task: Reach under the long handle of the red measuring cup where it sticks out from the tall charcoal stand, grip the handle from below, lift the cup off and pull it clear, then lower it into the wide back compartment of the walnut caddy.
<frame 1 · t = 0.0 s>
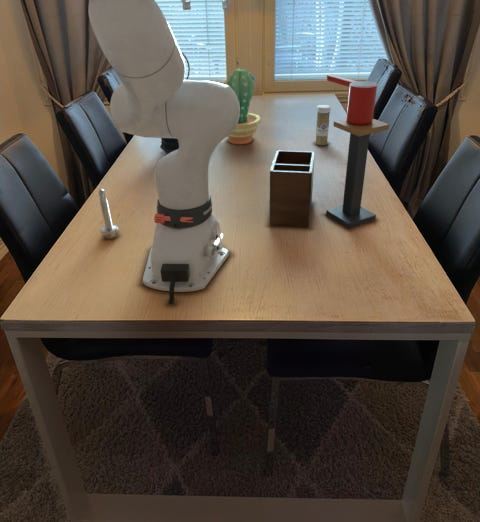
hand: (206, 9, 110), 48 cm above the table, tool pointing down, fingers open, 8 cm apart
potted cactus: (240, 140, 176), on the table
caddy: (291, 214, 126), on the table
cup: (359, 121, 110), point 25 cm above the table, touching stand
lantern: (178, 151, 168), on the table
stand: (350, 217, 124), on the table
sprinkles bottle: (321, 144, 171), on the table
screw: (110, 236, 119), on the table
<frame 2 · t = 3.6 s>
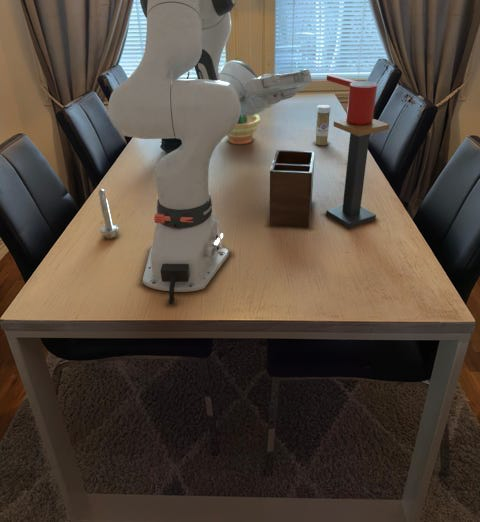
hand: (291, 74, 127), 31 cm above the table, tool pointing upward, fingers open, 8 cm apart
nothing on the table moved.
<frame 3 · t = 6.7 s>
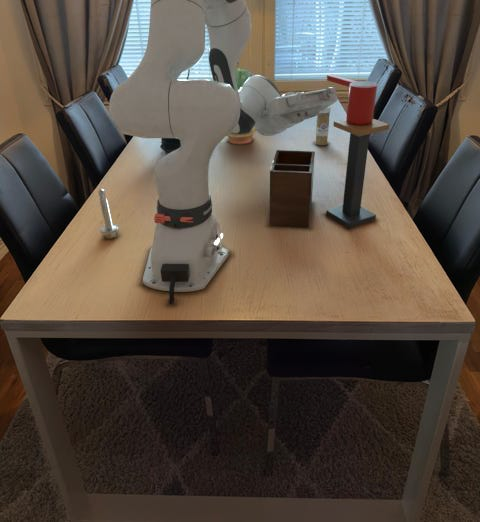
hand: (318, 92, 120), 29 cm above the table, tool pointing upward, fingers open, 8 cm apart
nothing on the table moved.
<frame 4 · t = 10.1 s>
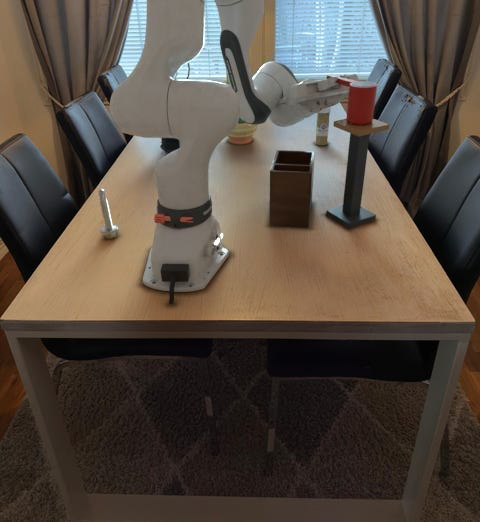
hand: (340, 78, 111), 33 cm above the table, tool pointing upward, fingers closed on cup
cup: (359, 121, 110), point 25 cm above the table, touching gripper, stand
everything else where it was.
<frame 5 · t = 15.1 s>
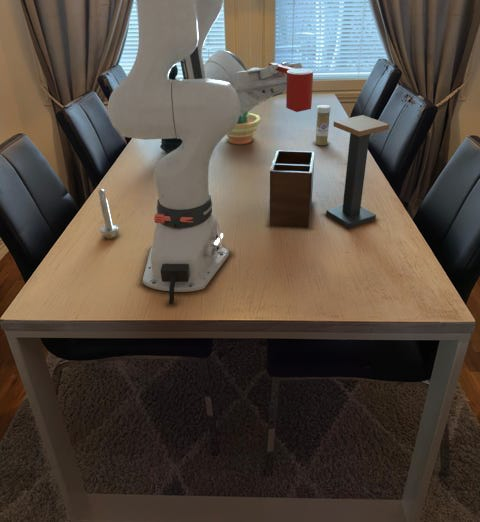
hand: (281, 66, 114), 36 cm above the table, tool pointing upward, fingers closed on cup
cup: (298, 108, 113), point 27 cm above the table, touching gripper
everything else where it was.
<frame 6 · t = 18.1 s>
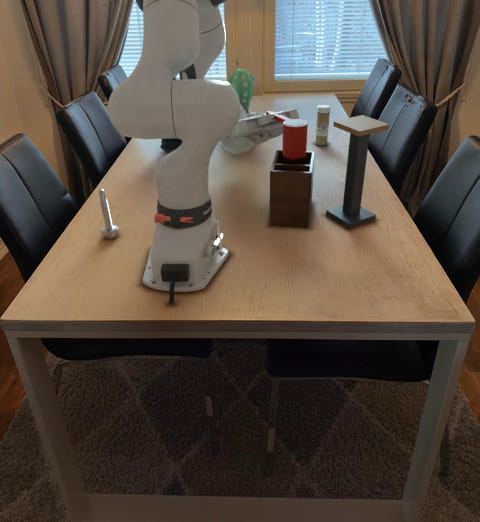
hand: (277, 115, 120), 24 cm above the table, tool pointing upward, fingers closed on cup
cup: (294, 155, 119), point 15 cm above the table, touching gripper
everything else where it was.
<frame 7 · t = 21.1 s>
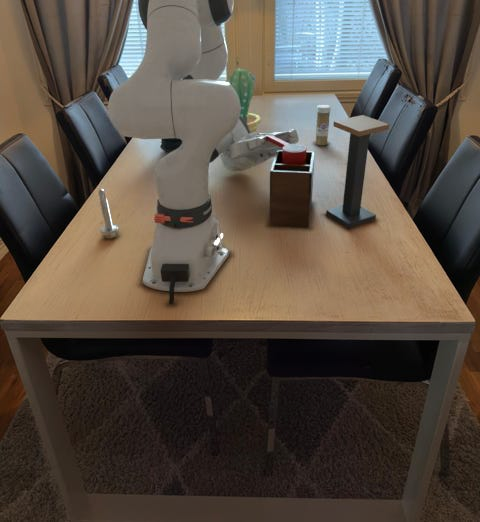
hand: (277, 137, 123), 18 cm above the table, tool pointing upward, fingers open, 8 cm apart
cup: (293, 179, 123), point 9 cm above the table, touching caddy
everything else where it was.
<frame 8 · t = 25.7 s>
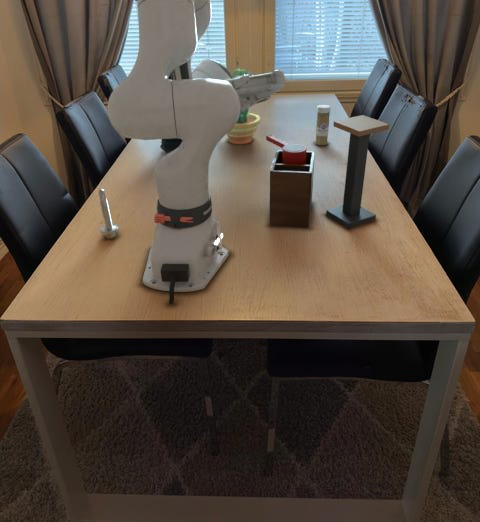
hand: (263, 75, 121), 32 cm above the table, tool pointing upward, fingers open, 8 cm apart
nothing on the table moved.
at the end: cup 0.1 cm from the target spot on the caddy, point 9.0 cm above the caddy's base; cup tilted 0° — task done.
